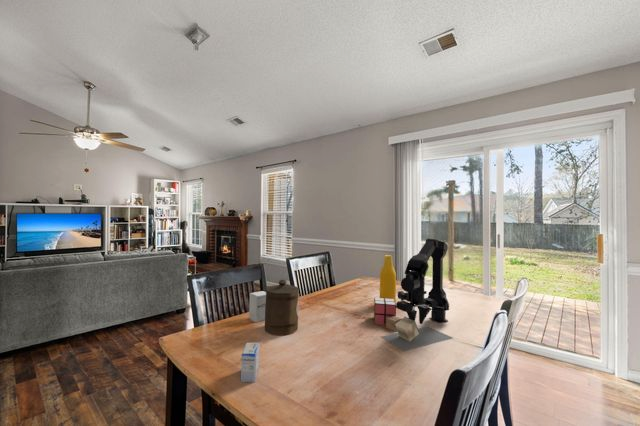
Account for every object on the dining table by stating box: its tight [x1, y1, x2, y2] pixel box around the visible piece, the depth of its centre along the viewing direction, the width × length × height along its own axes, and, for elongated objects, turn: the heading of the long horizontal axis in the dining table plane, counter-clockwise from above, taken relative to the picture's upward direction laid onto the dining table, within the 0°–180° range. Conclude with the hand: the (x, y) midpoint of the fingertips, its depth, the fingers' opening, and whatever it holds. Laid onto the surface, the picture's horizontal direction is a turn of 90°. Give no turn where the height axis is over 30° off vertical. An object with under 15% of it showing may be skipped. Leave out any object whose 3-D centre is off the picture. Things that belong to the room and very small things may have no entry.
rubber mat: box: [380, 325, 454, 352], centre depth 119 cm, size 28×14×1 cm, turn 117°
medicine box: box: [240, 342, 260, 383], centre depth 89 cm, size 8×4×9 cm, turn 5°
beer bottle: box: [379, 254, 397, 304], centre depth 163 cm, size 9×9×29 cm
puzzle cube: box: [373, 297, 397, 325], centre depth 138 cm, size 10×10×10 cm
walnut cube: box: [385, 315, 403, 332], centre depth 129 cm, size 5×5×5 cm
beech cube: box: [395, 316, 420, 342], centre depth 118 cm, size 6×6×6 cm
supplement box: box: [248, 290, 266, 323], centre depth 138 cm, size 7×7×13 cm
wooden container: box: [264, 279, 299, 336], centre depth 127 cm, size 15×15×22 cm
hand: (416, 324), depth 120 cm, fingers open, 5 cm apart
